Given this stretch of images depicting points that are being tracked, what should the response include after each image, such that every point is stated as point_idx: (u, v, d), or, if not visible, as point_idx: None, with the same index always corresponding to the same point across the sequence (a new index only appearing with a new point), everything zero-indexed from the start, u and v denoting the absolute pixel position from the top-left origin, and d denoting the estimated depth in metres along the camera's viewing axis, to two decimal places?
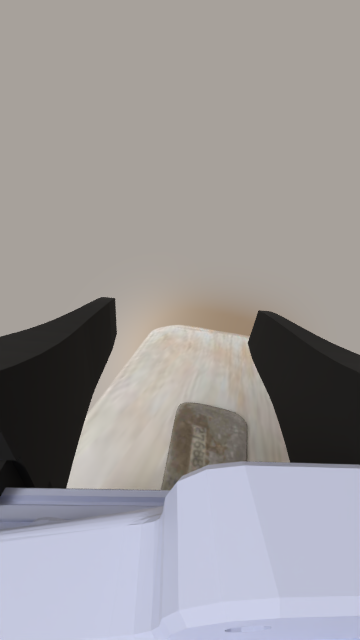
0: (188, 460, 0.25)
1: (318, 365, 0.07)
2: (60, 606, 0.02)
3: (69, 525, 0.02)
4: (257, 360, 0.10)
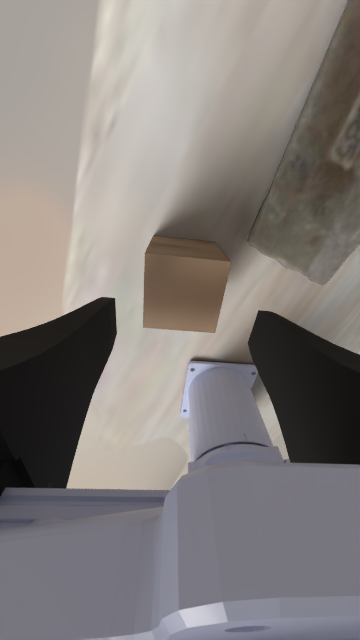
0: (341, 123, 0.13)
1: (318, 365, 0.07)
2: (60, 606, 0.02)
3: (69, 525, 0.02)
4: (257, 360, 0.10)
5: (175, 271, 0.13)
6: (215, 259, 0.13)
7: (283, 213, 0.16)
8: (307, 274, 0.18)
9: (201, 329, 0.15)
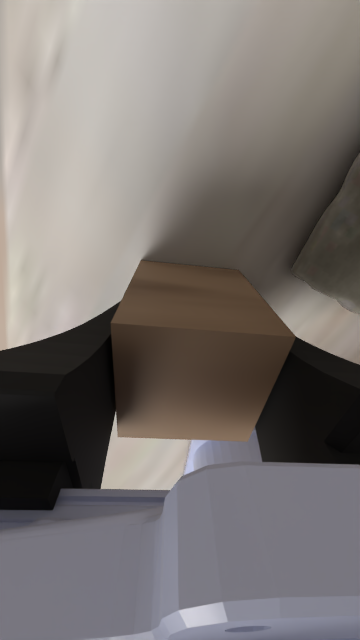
0: None
1: (286, 363, 0.07)
2: (60, 606, 0.02)
3: (69, 525, 0.02)
4: None
5: (178, 354, 0.06)
6: (261, 330, 0.06)
7: None
8: None
9: (223, 437, 0.08)
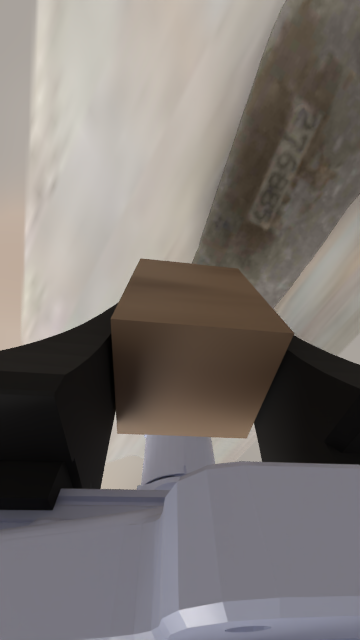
0: (255, 191, 0.14)
1: (286, 363, 0.07)
2: (60, 606, 0.02)
3: (69, 525, 0.02)
4: None
5: (177, 350, 0.06)
6: (260, 327, 0.06)
7: (212, 264, 0.17)
8: None
9: (222, 434, 0.08)
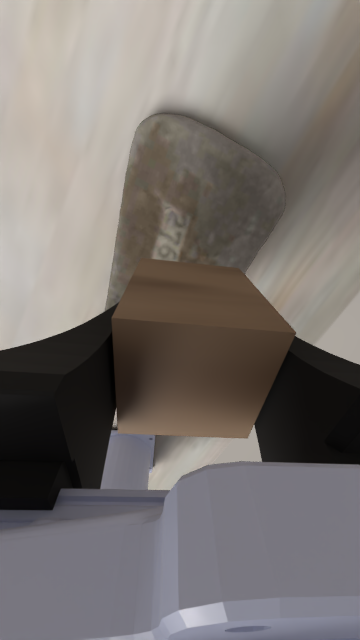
0: None
1: (286, 363, 0.07)
2: (60, 606, 0.02)
3: (69, 525, 0.02)
4: None
5: (179, 349, 0.06)
6: (262, 326, 0.06)
7: None
8: None
9: (223, 434, 0.08)
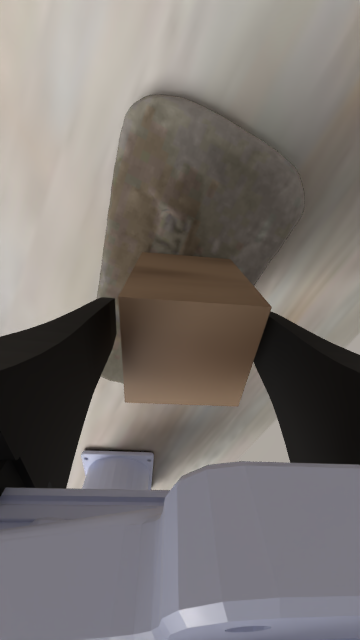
0: None
1: (318, 365, 0.07)
2: (60, 606, 0.02)
3: (69, 525, 0.02)
4: (257, 360, 0.10)
5: (174, 324, 0.07)
6: (243, 302, 0.07)
7: None
8: None
9: (217, 402, 0.09)
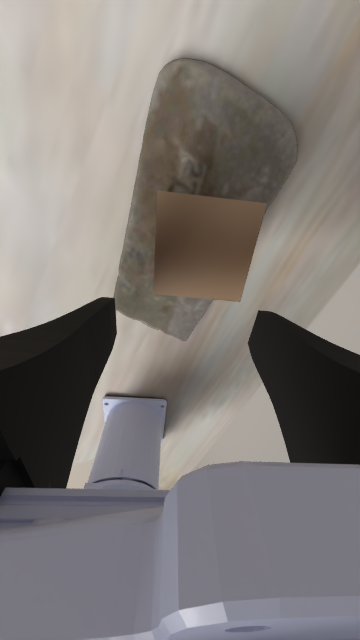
0: None
1: (318, 365, 0.07)
2: (60, 606, 0.02)
3: (69, 525, 0.02)
4: (257, 360, 0.10)
5: (195, 217, 0.10)
6: (246, 201, 0.10)
7: (133, 288, 0.19)
8: (167, 333, 0.21)
9: (223, 297, 0.12)
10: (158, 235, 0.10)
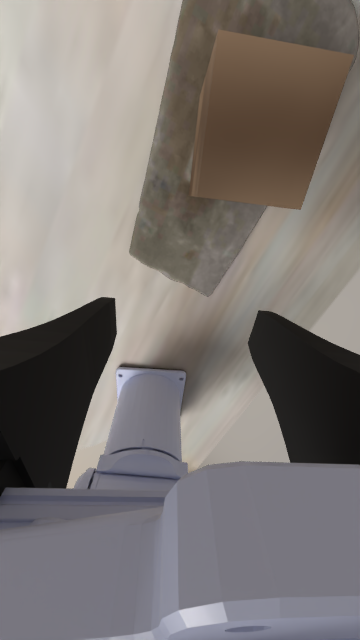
0: (190, 148, 0.14)
1: (318, 365, 0.07)
2: (60, 606, 0.02)
3: (69, 525, 0.02)
4: (257, 360, 0.10)
5: (262, 75, 0.08)
6: None
7: (154, 228, 0.16)
8: (190, 286, 0.19)
9: (282, 202, 0.10)
10: (212, 104, 0.08)
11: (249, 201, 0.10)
